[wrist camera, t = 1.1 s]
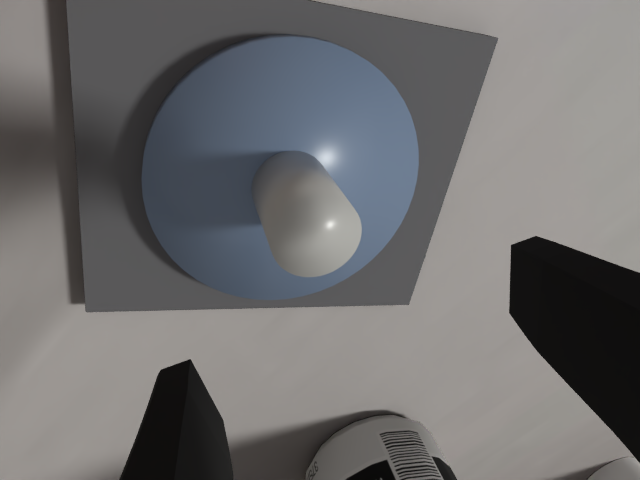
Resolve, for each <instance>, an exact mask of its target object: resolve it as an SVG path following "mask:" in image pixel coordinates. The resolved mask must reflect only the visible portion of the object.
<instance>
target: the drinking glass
mask: <svg viewBox="0 0 640 480" xmlns="http://www.w3.org/2000/svg"><path fill="white" fill-rule="evenodd" d="M587 480H640V463H639V462H638V461H637V460H636V459H635V458H632V457H625V458H621V459H618V460H615V461H613V462H611V463H609V464H607V465H605V466H603V467H602V468H600V469H599V470H598V471H596V472H595V473H593V474H592V475H591V476H590V477H589V478H588V479H587Z"/></svg>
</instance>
